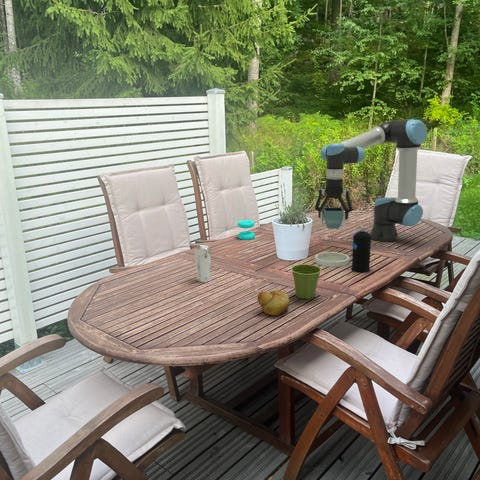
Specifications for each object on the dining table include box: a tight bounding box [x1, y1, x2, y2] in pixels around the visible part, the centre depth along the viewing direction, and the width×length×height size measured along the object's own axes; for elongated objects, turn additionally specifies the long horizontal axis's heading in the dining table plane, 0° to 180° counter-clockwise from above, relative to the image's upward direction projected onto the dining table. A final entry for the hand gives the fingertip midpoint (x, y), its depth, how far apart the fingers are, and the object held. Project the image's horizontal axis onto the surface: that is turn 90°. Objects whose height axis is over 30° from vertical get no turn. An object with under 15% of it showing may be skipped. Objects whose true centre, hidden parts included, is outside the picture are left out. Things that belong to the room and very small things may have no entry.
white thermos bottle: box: [194, 244, 212, 283], centre depth 191 cm, size 7×7×15 cm
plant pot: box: [290, 263, 323, 300], centre depth 171 cm, size 12×12×11 cm
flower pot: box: [322, 206, 345, 230], centre depth 206 cm, size 9×9×9 cm
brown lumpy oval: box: [257, 289, 291, 316], centre depth 160 cm, size 13×10×8 cm
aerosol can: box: [350, 225, 372, 274], centre depth 197 cm, size 8×8×20 cm
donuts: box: [237, 219, 256, 241], centre depth 255 cm, size 10×10×10 cm
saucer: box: [314, 251, 351, 268], centre depth 212 cm, size 16×16×2 cm
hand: (332, 225), depth 207 cm, fingers closed on flower pot, 10 cm apart
